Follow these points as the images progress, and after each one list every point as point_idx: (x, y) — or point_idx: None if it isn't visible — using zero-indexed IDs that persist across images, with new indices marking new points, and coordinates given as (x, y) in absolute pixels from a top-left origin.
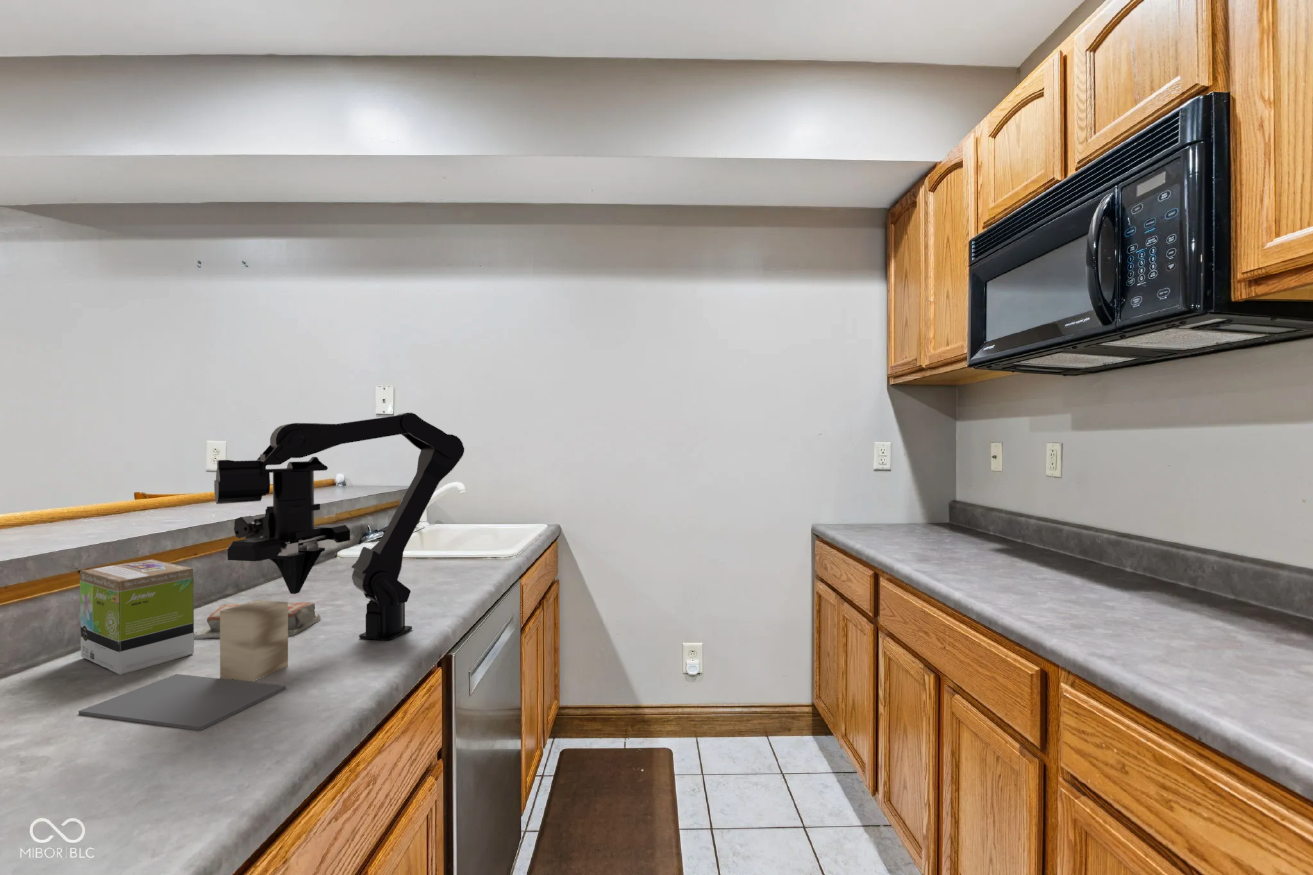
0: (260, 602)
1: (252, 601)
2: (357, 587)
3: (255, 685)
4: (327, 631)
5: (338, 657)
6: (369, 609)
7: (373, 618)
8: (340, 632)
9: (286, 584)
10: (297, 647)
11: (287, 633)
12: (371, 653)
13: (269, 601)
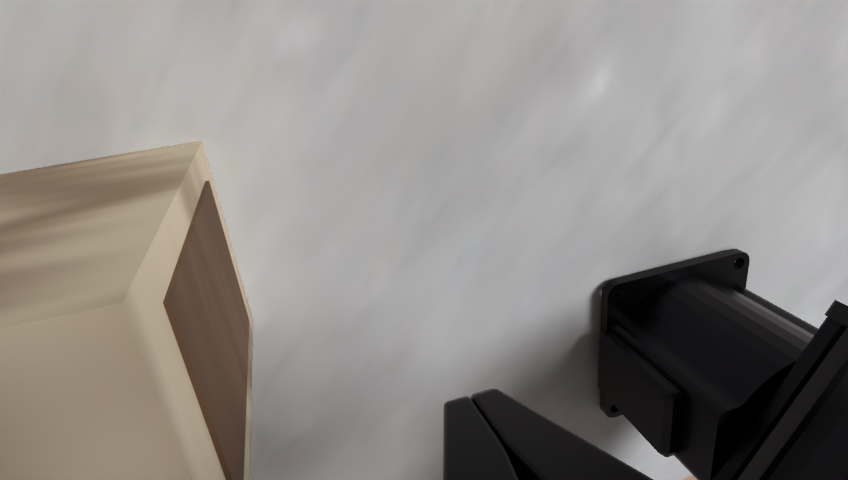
0: (88, 439)
1: (51, 318)
2: (831, 413)
3: None
4: (665, 33)
5: (408, 404)
6: (695, 413)
7: (650, 422)
8: (660, 118)
9: (444, 478)
10: (439, 119)
11: (248, 421)
12: None
13: (169, 476)
